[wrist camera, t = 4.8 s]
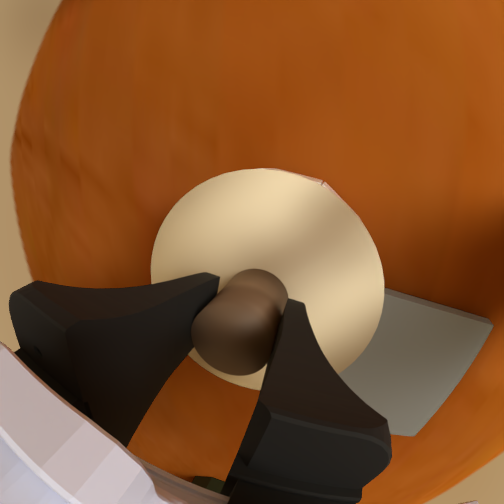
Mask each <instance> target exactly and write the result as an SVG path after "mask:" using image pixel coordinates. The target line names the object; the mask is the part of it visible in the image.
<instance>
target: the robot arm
mask: <svg viewBox="0 0 504 504" xmlns="http://www.w3.org/2000/svg"><path fill="white" fill-rule="evenodd" d="M219 281H220V276H217V275H214V274H211V273H208V272H202V273H197V274H193V275H189V276H185V277H181V278H177V279H173V280H169V281H165V282H160V283H155V284H150V285H144V286H137V287H128V288H105V289H94V288H79V287H70V286H63V285H57V284H52V283H47V282H42V281H34V282H32V283H30V284H28V285H26V286H24V287H22V288H20V289H18V290H16V291H14V292H13V293H12V294H11V295H10V300H9V311H10V315H11V320H12V323H13V327H14V329H15V333H16V336H17V339H18V342H19V345H20V349H18V350H17V351H16V352H13V351H11V349H10V348H8V347H7V346H6V345H5V344H3V343H2V342H0V504H356V503H358V502H359V501H360V500H361V498H362V487H364V486H365V485H366V484H368V483H369V482H370V481H371V480H373V479H374V478H375V477H376V476H378V475H379V474H380V473H381V472H382V471H383V470H384V469H385V468H386V467H387V466H388V465H389V463H390V460H391V458H392V449H391V436H390V431H389V426H388V420H387V419H386V418H384V417H383V416H382V415H380V414H379V413H378V412H376V411H375V410H374V409H373V408H371V407H370V406H369V405H367V404H366V403H365V402H364V401H363V400H362V399H361V398H360V397H359V396H357V395H356V394H355V393H354V392H353V391H352V390H351V389H350V388H349V387H348V385H347V384H346V383H345V382H344V381H343V380H342V379H341V377H340V376H339V375H338V374H337V373H336V371H335V370H334V369H333V367H332V366H331V364H330V363H329V361H328V360H327V358H326V357H325V355H324V354H323V352H322V350H321V348H320V346H319V344H318V342H317V339H316V337H315V335H314V332H313V330H312V327H311V324H310V321H309V318H308V315H307V311H306V306H305V304H304V303H303V302H300V301H296V300H293V299H290V298H288V300H287V302H286V305H285V308H284V312H283V315H282V318H281V321H280V325H279V328H278V331H277V335H276V339H275V343H274V347H273V350H272V353H271V356H270V358H269V361H268V362H267V366H266V370H265V374H264V378H263V382H262V386H261V390H260V394H259V398H258V402H257V404H256V407H255V410H254V412H253V415H252V418H251V420H250V423H249V425H248V428H247V430H246V433H245V436H244V438H243V441H242V443H241V446H240V448H239V450H238V453H237V455H236V458H235V460H234V462H233V465H232V467H231V469H230V471H229V474H228V476H227V479H226V481H225V483H224V485H223V488H222V490H221V492H220V494H219V493H216V492H213V491H210V490H208V489H205V488H202V487H200V486H197V485H195V484H192V483H190V482H188V481H185V480H183V479H181V478H179V477H176V476H174V475H172V474H170V473H168V472H166V471H164V470H161V469H159V468H157V467H155V466H154V465H152V464H150V463H148V462H146V461H144V460H142V459H140V458H139V457H137V456H135V455H133V454H132V453H131V452H130V451H128V450H127V449H126V448H127V446H128V444H129V442H130V440H131V438H132V436H133V434H134V433H135V431H136V429H137V427H138V426H139V424H140V422H141V420H142V419H143V417H144V415H145V413H146V412H147V410H148V409H149V407H150V405H151V404H152V402H153V401H154V399H155V397H156V396H157V394H158V393H159V391H160V390H161V388H162V387H163V385H164V384H165V382H166V381H167V379H168V378H169V377H170V375H171V374H172V373H173V371H174V370H175V369H176V368H177V367H178V366H179V364H180V363H181V362H182V361H183V360H184V358H185V357H186V356H187V355H188V354H189V353H190V351H191V350H192V349H193V348H194V345H193V342H192V338H191V327H192V323H193V321H194V319H195V318H196V316H197V315H198V314H199V313H200V312H201V311H202V310H203V309H204V308H205V307H206V306H207V304H208V303H209V302H210V301H211V300H212V299H213V298H214V297H215V296H216V295H217V293H218V287H219ZM461 504H478V501H470V502H465V503H461Z"/></svg>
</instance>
